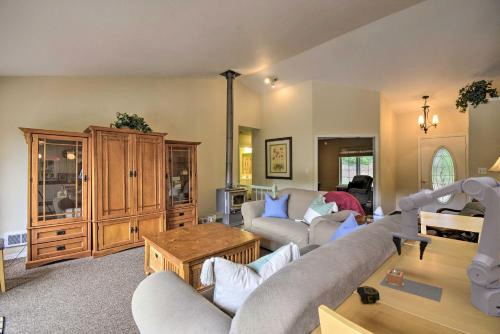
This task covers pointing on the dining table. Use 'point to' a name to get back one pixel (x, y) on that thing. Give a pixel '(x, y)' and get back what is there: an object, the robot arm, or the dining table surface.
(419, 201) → the robot arm
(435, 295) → the seat plate
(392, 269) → the steel post
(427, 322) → the dining table surface
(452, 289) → the dining table surface
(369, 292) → the tape measure
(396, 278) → the collar
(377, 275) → the dining table surface
